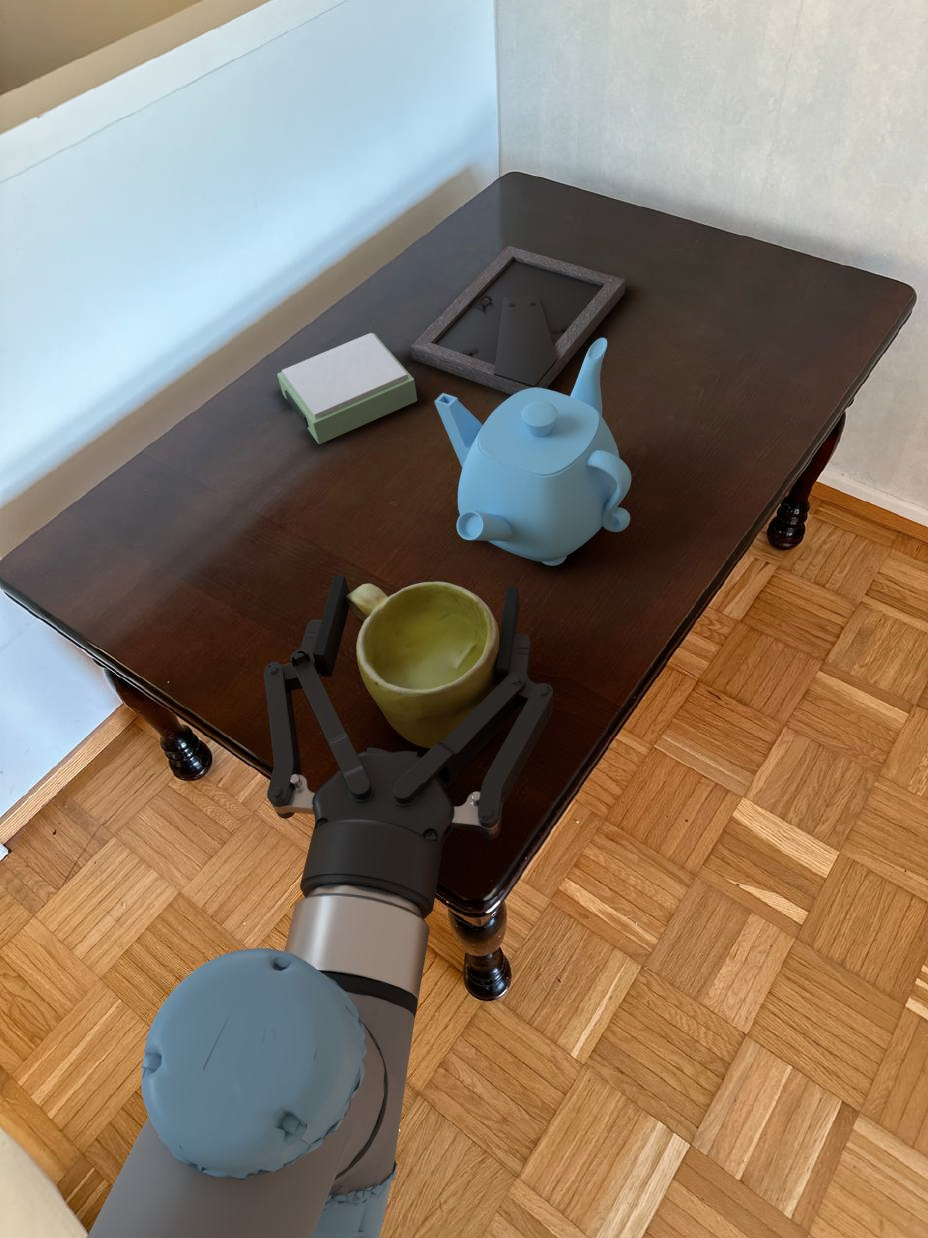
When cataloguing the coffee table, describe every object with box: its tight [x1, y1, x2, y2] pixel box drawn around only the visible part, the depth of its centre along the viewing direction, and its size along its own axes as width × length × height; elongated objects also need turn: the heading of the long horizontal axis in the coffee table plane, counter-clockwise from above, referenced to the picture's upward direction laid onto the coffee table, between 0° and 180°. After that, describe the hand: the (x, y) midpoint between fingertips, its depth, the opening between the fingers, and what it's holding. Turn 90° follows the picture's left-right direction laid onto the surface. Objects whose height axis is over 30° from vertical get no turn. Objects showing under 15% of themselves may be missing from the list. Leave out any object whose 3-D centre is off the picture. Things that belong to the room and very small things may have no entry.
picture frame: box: [410, 245, 626, 396], centre depth 87 cm, size 13×2×18 cm
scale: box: [276, 332, 418, 445], centre depth 82 cm, size 10×8×3 cm
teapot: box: [433, 337, 632, 567], centre depth 69 cm, size 15×14×11 cm
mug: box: [346, 581, 501, 750], centre depth 62 cm, size 12×10×10 cm
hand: (427, 592), depth 62 cm, fingers closed on mug, 11 cm apart
